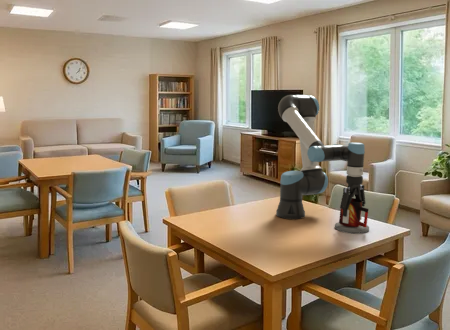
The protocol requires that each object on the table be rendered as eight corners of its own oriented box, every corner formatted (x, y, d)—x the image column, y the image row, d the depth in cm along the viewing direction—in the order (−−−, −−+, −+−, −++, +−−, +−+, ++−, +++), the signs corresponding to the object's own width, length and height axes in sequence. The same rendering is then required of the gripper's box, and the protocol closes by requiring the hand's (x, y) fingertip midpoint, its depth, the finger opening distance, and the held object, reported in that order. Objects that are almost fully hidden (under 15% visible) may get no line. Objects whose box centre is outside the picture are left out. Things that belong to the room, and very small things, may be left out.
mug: (365, 230, 209) (368, 204, 208) (336, 224, 216) (339, 199, 214) (370, 225, 218) (373, 201, 216) (342, 220, 224) (344, 196, 223)
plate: (327, 227, 218) (328, 224, 218) (347, 222, 229) (347, 219, 228) (356, 235, 206) (356, 232, 206) (375, 229, 216) (375, 226, 216)
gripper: (347, 179, 204) (344, 226, 207) (375, 174, 218) (372, 218, 221) (333, 176, 209) (331, 223, 213) (361, 171, 223) (358, 215, 227)
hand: (352, 220), depth 217 cm, fingers closed on mug, 10 cm apart
